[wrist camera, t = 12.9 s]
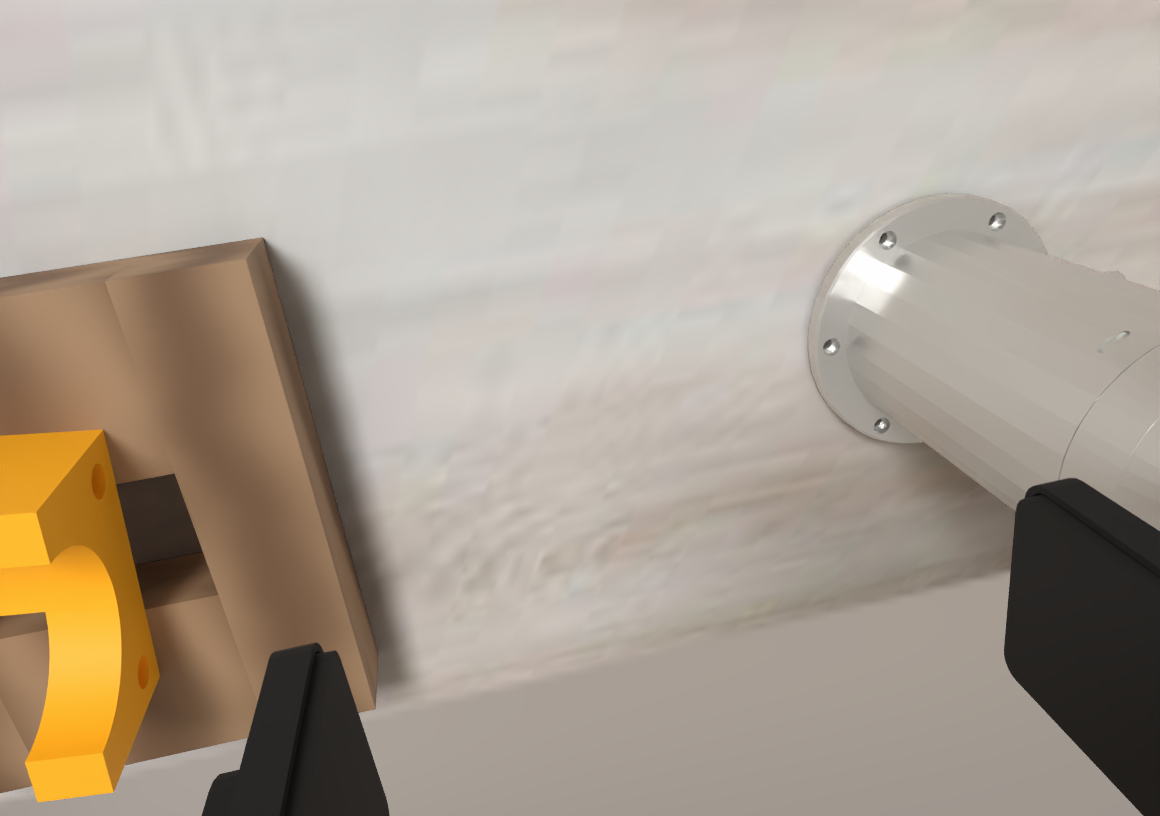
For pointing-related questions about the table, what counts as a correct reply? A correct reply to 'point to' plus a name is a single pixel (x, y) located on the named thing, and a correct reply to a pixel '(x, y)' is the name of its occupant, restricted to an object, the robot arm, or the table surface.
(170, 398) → the cutout shelf
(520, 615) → the table surface
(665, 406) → the table surface
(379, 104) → the table surface
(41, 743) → the orange curved block
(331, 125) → the table surface
